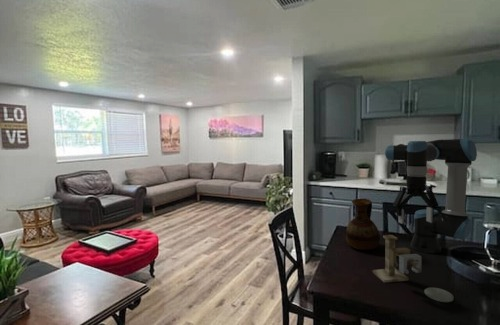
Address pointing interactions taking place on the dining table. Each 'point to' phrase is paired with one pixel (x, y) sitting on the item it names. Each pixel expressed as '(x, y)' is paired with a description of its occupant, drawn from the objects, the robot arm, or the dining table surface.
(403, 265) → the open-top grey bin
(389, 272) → the peg stand
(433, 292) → the felt pad
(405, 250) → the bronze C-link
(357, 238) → the ceramic pitcher
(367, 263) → the dining table surface
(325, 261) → the dining table surface
